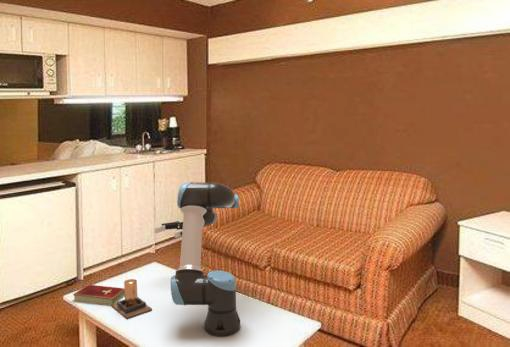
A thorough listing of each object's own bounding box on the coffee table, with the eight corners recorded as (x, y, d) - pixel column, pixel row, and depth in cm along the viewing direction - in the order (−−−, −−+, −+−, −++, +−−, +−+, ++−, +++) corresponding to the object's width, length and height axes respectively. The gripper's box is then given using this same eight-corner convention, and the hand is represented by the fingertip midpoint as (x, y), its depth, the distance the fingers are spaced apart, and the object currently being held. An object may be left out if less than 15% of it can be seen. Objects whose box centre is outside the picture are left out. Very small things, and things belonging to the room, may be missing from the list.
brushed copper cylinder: (140, 306, 195) (138, 281, 193) (128, 310, 191) (127, 285, 189) (134, 302, 199) (133, 278, 197) (123, 306, 195) (122, 281, 193)
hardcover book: (88, 291, 214) (88, 283, 214) (126, 295, 209) (126, 287, 209) (73, 302, 203) (72, 293, 202) (113, 306, 198) (112, 298, 197)
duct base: (151, 310, 193) (151, 304, 192) (126, 319, 185) (126, 312, 185) (135, 298, 205) (135, 292, 204) (111, 306, 197) (111, 300, 197)
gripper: (212, 233, 220) (184, 244, 203) (177, 226, 234) (147, 236, 217) (212, 219, 219) (183, 229, 202) (176, 213, 233) (147, 221, 215)
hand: (164, 233), depth 209 cm, fingers open, 13 cm apart
